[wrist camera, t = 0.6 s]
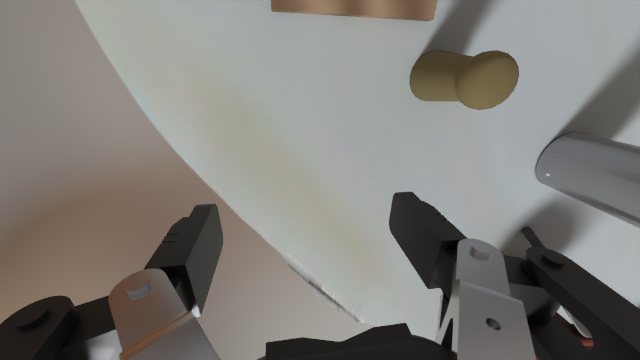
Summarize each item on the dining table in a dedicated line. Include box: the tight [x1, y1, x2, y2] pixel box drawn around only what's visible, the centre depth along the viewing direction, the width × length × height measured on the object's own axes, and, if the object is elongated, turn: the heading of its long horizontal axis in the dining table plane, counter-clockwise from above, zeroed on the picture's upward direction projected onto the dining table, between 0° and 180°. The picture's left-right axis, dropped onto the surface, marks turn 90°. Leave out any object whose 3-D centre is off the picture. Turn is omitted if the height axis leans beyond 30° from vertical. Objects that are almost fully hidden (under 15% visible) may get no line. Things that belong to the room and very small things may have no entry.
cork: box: [410, 50, 519, 110], centre depth 27 cm, size 6×6×11 cm
